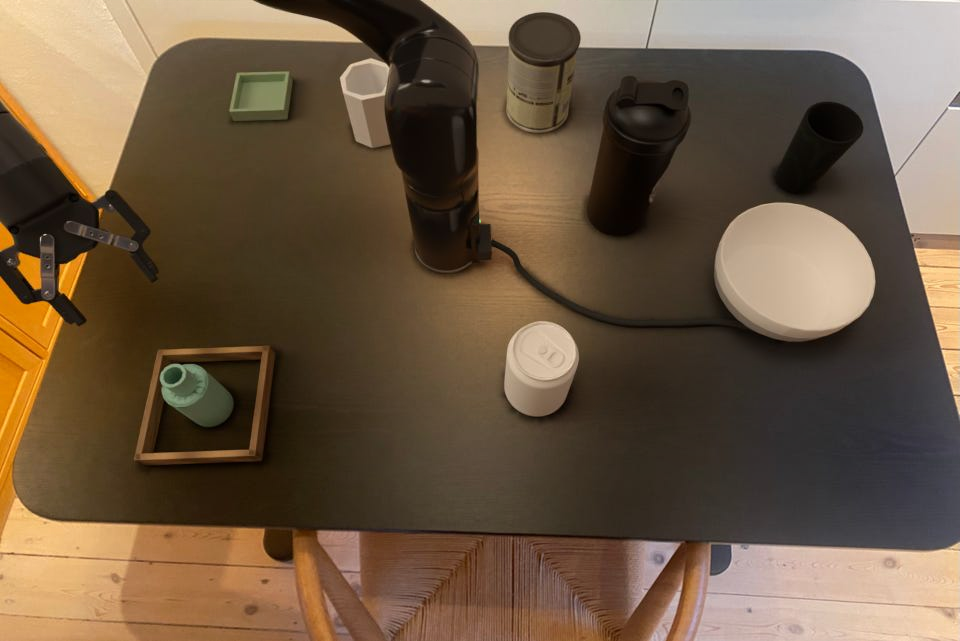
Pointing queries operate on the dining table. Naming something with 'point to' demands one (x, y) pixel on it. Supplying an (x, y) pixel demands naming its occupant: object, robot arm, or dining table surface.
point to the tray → (261, 96)
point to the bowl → (792, 272)
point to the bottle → (196, 394)
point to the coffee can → (541, 70)
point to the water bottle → (636, 151)
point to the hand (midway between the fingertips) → (120, 301)
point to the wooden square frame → (156, 403)
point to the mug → (367, 101)
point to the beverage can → (540, 368)
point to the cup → (817, 145)
